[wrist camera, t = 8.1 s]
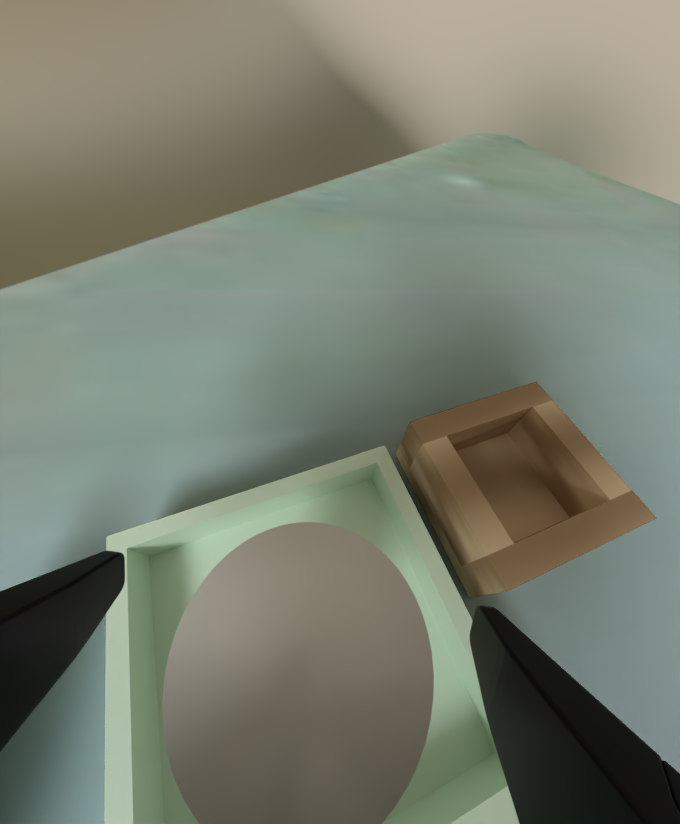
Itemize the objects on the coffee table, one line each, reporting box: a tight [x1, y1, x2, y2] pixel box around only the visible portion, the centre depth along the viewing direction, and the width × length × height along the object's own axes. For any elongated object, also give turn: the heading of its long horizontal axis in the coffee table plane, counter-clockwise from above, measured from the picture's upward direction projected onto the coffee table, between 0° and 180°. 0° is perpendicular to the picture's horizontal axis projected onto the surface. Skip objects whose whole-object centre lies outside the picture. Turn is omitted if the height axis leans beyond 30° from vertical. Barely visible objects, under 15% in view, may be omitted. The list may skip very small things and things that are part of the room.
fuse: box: [162, 522, 434, 824], centre depth 10 cm, size 4×4×11 cm
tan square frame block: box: [396, 382, 656, 598], centre depth 18 cm, size 8×8×4 cm
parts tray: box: [104, 445, 519, 824], centre depth 14 cm, size 14×14×3 cm
